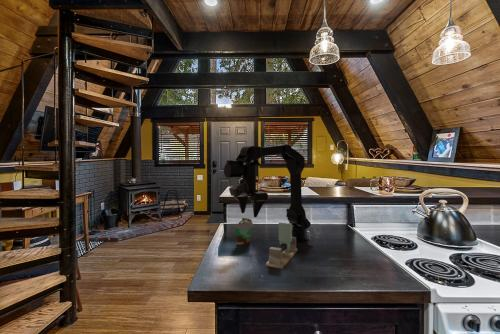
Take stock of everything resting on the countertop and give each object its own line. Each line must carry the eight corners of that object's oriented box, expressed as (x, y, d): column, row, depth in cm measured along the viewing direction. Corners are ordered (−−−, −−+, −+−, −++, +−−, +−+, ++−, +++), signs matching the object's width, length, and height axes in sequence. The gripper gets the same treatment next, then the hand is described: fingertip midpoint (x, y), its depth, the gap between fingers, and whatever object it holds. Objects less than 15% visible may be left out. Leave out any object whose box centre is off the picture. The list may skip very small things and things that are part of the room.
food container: (249, 248, 115) (250, 224, 114) (235, 247, 116) (235, 223, 116) (255, 239, 127) (255, 218, 126) (242, 238, 128) (242, 217, 128)
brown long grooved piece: (283, 248, 114) (283, 234, 114) (297, 250, 112) (297, 235, 111) (265, 265, 96) (266, 248, 96) (282, 268, 94) (282, 250, 93)
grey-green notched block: (280, 247, 109) (280, 221, 108) (292, 249, 107) (292, 222, 106) (277, 249, 106) (277, 223, 106) (290, 251, 104) (290, 224, 104)
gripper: (220, 176, 114) (220, 213, 114) (244, 179, 98) (244, 222, 99) (243, 175, 120) (243, 210, 120) (269, 178, 104) (268, 218, 105)
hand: (248, 215), depth 111 cm, fingers open, 9 cm apart
